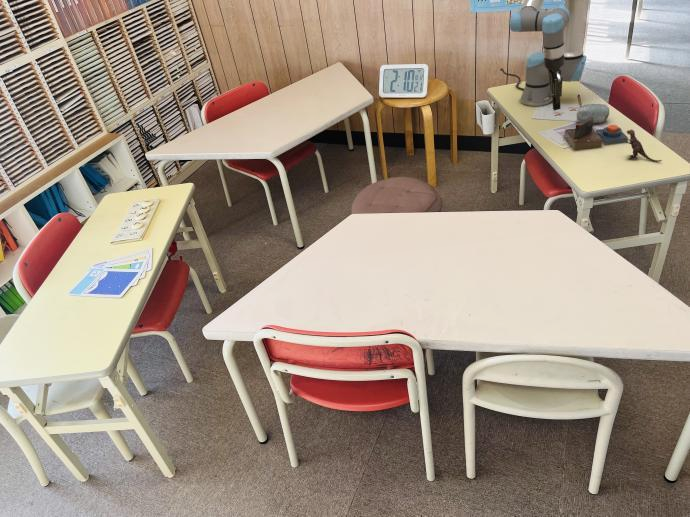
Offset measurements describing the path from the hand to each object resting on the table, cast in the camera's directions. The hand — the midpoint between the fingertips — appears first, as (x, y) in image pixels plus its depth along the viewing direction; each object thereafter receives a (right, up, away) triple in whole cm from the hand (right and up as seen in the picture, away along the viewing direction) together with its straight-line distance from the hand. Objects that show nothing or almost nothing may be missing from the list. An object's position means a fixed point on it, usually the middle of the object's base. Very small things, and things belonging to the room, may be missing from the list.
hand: (556, 109), depth 226 cm
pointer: (+12, -10, +2) cm, 16 cm away
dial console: (+13, -13, +4) cm, 19 cm away
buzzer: (+24, -12, +2) cm, 27 cm away
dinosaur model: (+28, -24, -15) cm, 40 cm away
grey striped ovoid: (+23, -1, +17) cm, 29 cm away
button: (+24, -9, 0) cm, 26 cm away
